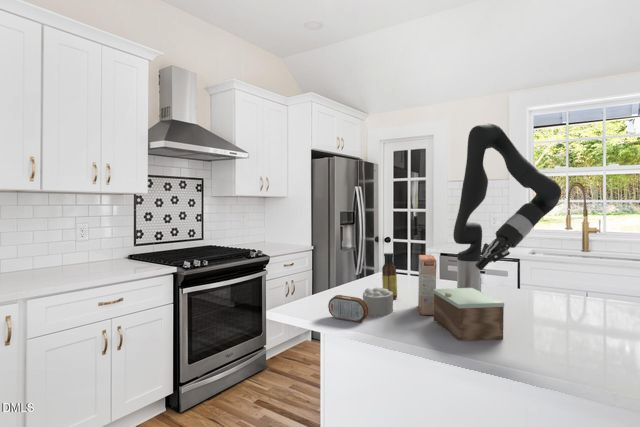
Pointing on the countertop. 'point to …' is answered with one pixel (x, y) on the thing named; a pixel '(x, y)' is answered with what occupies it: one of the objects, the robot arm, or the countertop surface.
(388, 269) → the sauce bottle
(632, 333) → the countertop surface
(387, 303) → the lumpy-topped squat cylinder
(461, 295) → the box lid
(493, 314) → the walnut box
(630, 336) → the countertop surface
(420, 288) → the cracker box
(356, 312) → the tin
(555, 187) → the robot arm
